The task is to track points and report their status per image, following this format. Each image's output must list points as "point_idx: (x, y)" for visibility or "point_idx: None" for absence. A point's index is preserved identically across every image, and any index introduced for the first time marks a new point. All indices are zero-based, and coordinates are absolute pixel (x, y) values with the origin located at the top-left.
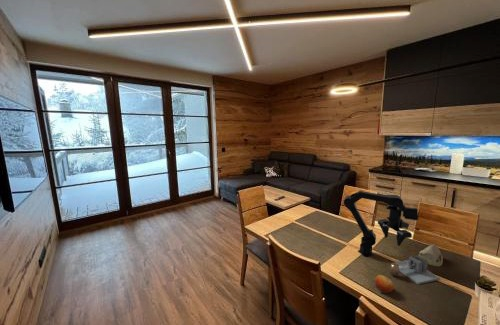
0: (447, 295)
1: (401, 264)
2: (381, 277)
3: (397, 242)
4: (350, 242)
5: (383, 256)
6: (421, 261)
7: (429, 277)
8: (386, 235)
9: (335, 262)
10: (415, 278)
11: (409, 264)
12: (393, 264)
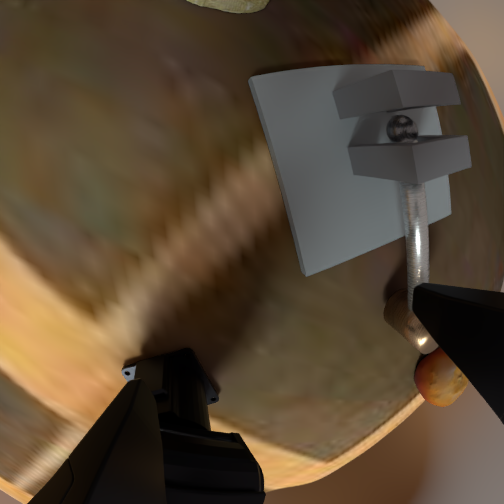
0: (479, 138)
1: (323, 203)
2: (455, 399)
3: (456, 355)
4: (61, 408)
5: (190, 278)
6: (255, 10)
7: (428, 117)
8: (150, 427)
9: (272, 474)
10: (433, 206)
11: (420, 206)
12: (430, 341)
